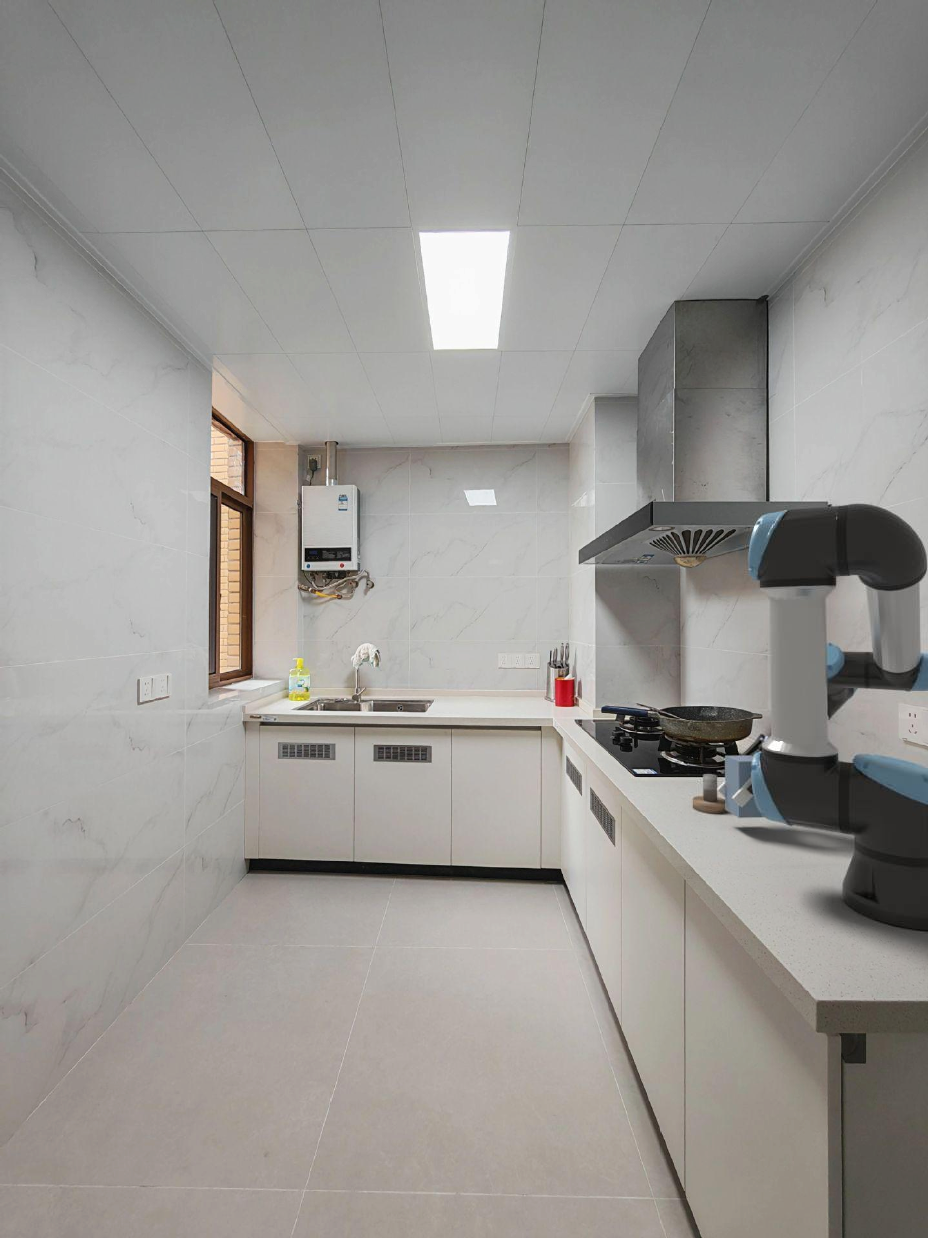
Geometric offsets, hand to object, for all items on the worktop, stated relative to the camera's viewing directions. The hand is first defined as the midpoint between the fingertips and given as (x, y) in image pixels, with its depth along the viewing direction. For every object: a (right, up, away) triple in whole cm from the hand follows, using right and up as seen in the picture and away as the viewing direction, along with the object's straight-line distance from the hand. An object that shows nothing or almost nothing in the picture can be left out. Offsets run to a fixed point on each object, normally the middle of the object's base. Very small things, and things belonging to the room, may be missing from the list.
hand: (729, 798), depth 136 cm
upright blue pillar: (+4, -3, 0) cm, 5 cm away
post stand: (+2, -7, +15) cm, 17 cm away
